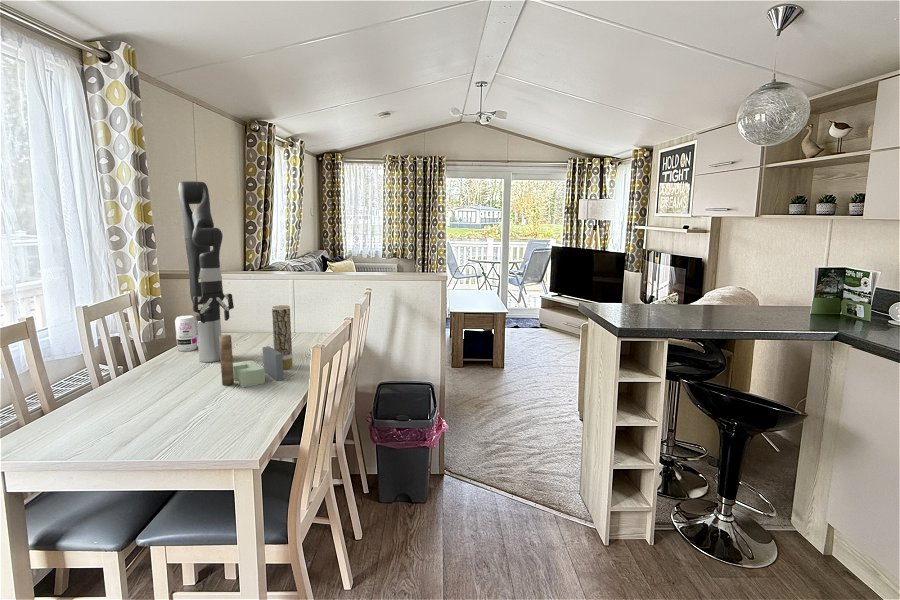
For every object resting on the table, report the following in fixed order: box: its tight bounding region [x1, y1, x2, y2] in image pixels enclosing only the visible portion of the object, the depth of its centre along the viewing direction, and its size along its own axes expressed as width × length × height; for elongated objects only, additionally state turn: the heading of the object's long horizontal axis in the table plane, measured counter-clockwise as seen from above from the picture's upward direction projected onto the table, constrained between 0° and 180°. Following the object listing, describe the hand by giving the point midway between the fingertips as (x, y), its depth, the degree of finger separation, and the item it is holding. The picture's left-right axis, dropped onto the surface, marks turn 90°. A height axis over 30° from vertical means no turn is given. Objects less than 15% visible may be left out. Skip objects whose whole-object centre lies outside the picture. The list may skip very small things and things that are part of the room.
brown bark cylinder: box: [271, 304, 293, 370], centre depth 213 cm, size 7×7×25 cm
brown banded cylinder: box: [219, 334, 235, 387], centre depth 193 cm, size 4×4×18 cm
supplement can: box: [174, 315, 198, 352], centre depth 241 cm, size 8×8×15 cm
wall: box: [262, 345, 284, 381], centre depth 204 cm, size 14×2×10 cm, turn 39°
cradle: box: [233, 359, 266, 388], centre depth 198 cm, size 14×8×6 cm, turn 39°
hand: (214, 321), depth 206 cm, fingers open, 8 cm apart
